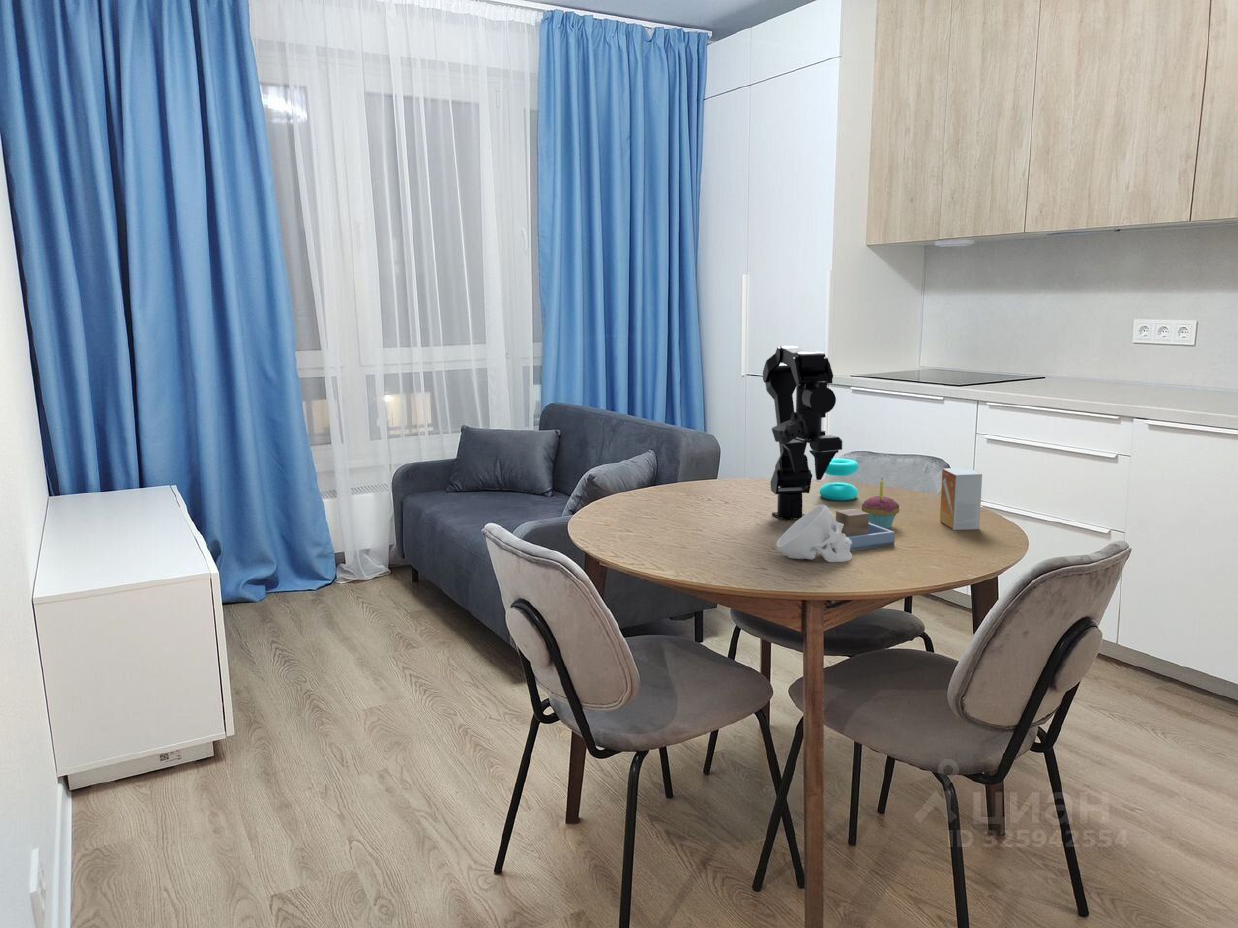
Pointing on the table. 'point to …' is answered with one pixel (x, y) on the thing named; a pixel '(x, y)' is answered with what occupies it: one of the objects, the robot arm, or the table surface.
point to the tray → (873, 538)
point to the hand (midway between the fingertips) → (807, 476)
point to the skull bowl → (816, 537)
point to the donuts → (840, 489)
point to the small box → (961, 498)
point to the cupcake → (881, 509)
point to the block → (853, 522)
